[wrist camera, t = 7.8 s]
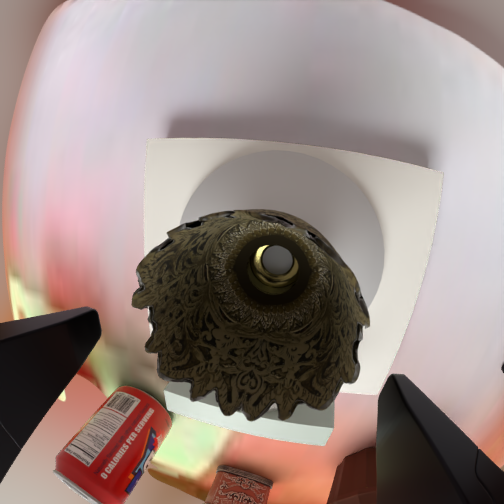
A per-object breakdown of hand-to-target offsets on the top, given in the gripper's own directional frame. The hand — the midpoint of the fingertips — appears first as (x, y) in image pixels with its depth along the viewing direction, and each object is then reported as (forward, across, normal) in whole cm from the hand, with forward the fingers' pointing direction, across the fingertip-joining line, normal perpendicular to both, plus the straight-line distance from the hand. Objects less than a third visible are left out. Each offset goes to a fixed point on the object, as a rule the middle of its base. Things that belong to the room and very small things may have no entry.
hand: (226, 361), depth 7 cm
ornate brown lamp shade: (+9, 0, 0) cm, 9 cm away
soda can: (+12, +13, +22) cm, 28 cm away
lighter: (+12, 0, +32) cm, 35 cm away
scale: (+12, 0, +2) cm, 12 cm away
